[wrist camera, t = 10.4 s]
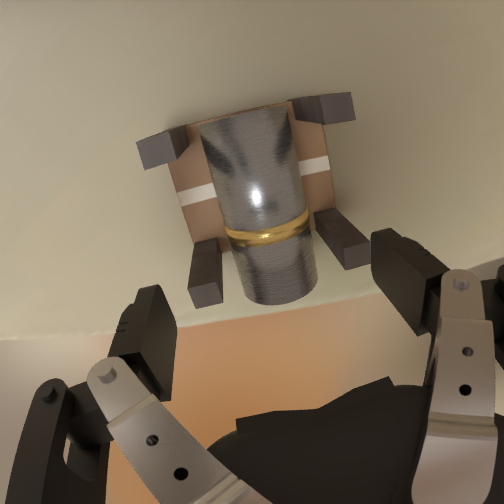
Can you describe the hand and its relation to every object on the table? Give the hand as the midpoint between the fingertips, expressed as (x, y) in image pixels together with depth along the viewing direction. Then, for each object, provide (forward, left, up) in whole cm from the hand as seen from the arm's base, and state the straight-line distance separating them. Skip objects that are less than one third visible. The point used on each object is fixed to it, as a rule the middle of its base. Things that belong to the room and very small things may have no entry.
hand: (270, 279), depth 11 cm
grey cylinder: (+1, 0, -11) cm, 11 cm away
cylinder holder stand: (+1, +1, -12) cm, 12 cm away
